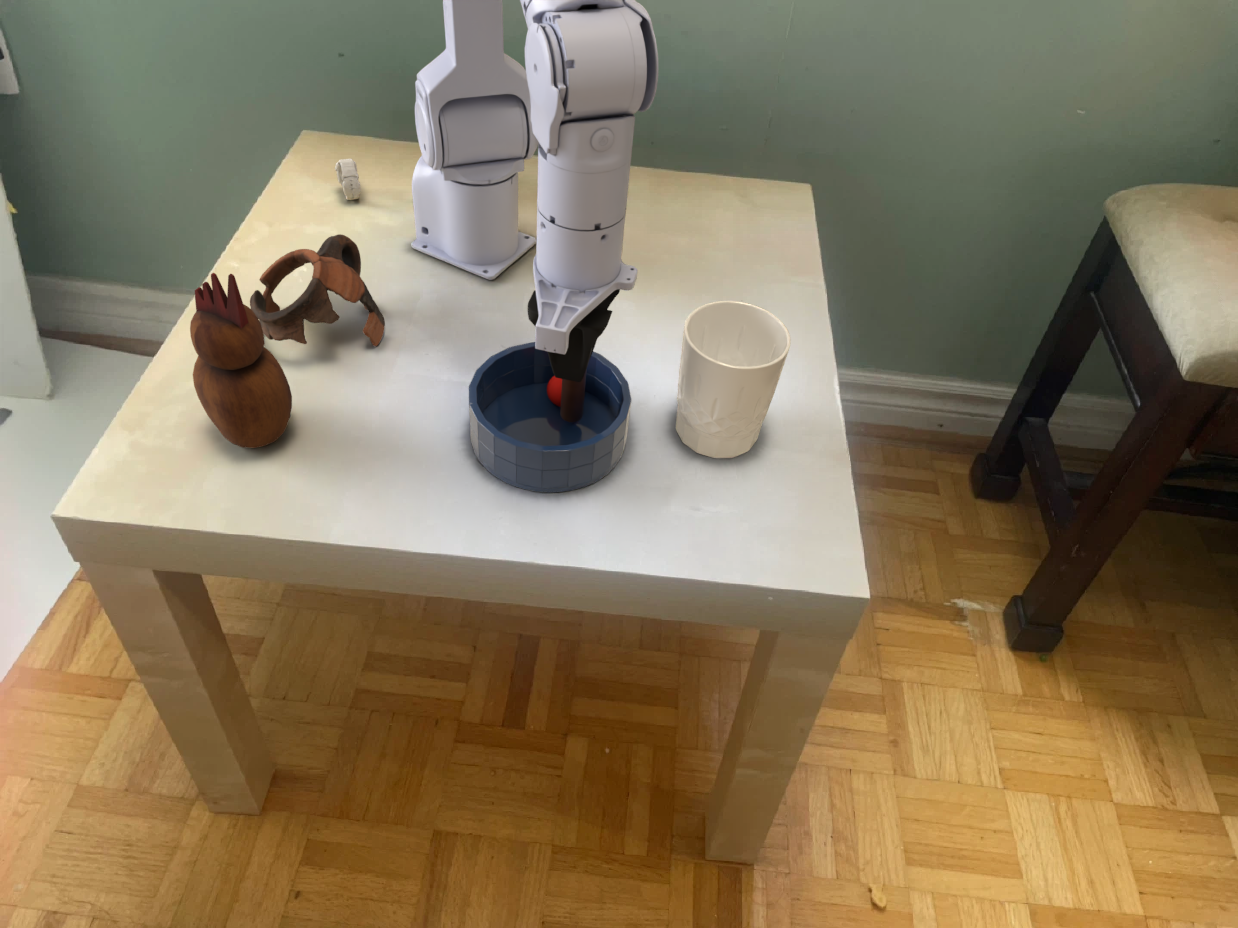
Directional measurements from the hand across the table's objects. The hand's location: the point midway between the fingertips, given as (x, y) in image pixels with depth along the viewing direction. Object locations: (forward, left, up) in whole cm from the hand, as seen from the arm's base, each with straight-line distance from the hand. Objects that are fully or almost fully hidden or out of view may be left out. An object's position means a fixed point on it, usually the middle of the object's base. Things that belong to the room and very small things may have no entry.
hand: (572, 367), depth 69 cm
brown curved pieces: (-24, -1, -7) cm, 25 cm away
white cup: (+10, +6, -7) cm, 14 cm away
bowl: (-1, -2, -6) cm, 7 cm away
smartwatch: (-36, +16, -6) cm, 40 cm away
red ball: (-2, +2, -4) cm, 5 cm away
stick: (0, 0, -5) cm, 5 cm away
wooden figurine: (-20, -14, -6) cm, 25 cm away
